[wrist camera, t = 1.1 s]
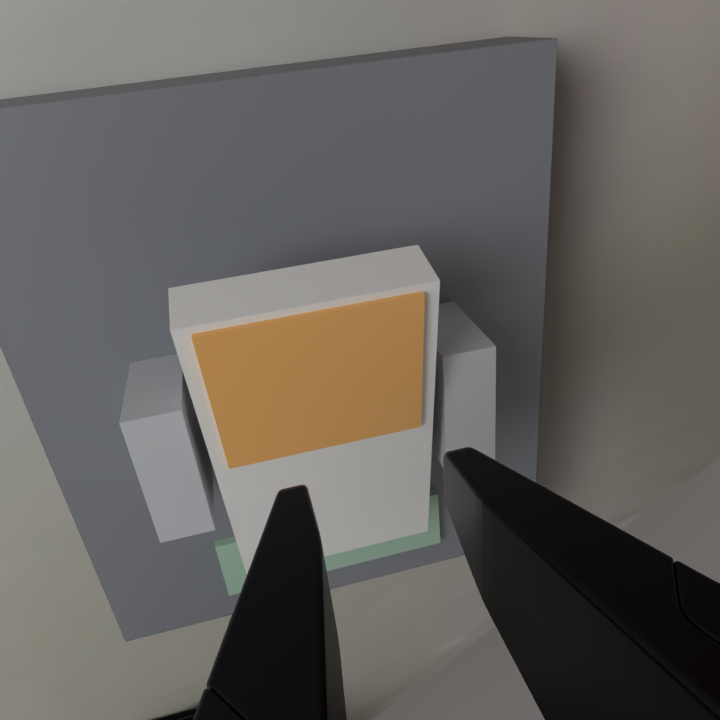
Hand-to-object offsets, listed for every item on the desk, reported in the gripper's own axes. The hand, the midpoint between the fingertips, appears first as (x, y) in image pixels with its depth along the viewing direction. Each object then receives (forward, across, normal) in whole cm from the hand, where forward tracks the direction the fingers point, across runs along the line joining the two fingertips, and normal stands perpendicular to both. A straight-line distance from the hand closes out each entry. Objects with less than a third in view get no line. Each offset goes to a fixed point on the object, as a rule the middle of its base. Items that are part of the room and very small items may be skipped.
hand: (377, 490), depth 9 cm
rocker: (+8, 0, +4) cm, 8 cm away
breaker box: (+13, 0, +4) cm, 14 cm away
